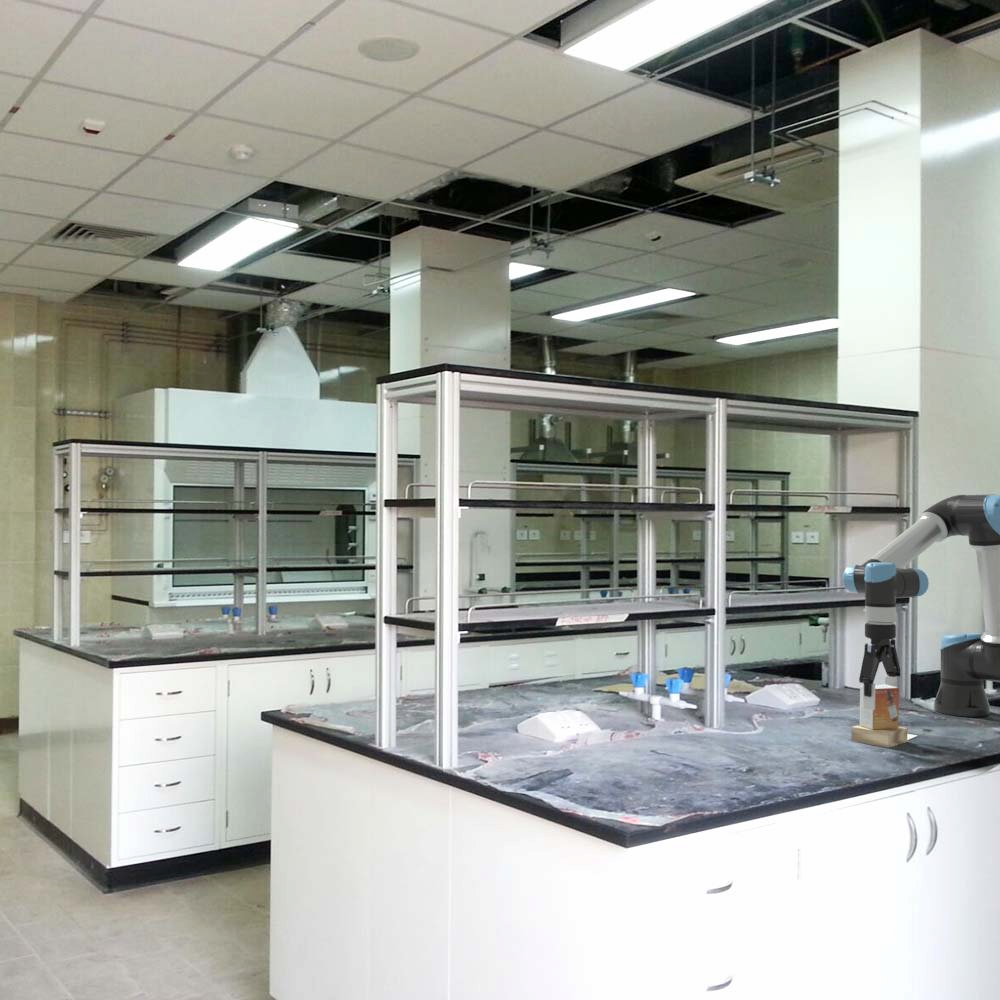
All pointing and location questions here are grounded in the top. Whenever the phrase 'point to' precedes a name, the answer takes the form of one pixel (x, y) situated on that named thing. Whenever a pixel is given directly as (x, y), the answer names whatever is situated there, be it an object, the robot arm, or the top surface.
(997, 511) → the robot arm
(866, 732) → the base block
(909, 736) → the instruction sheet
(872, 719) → the small box
